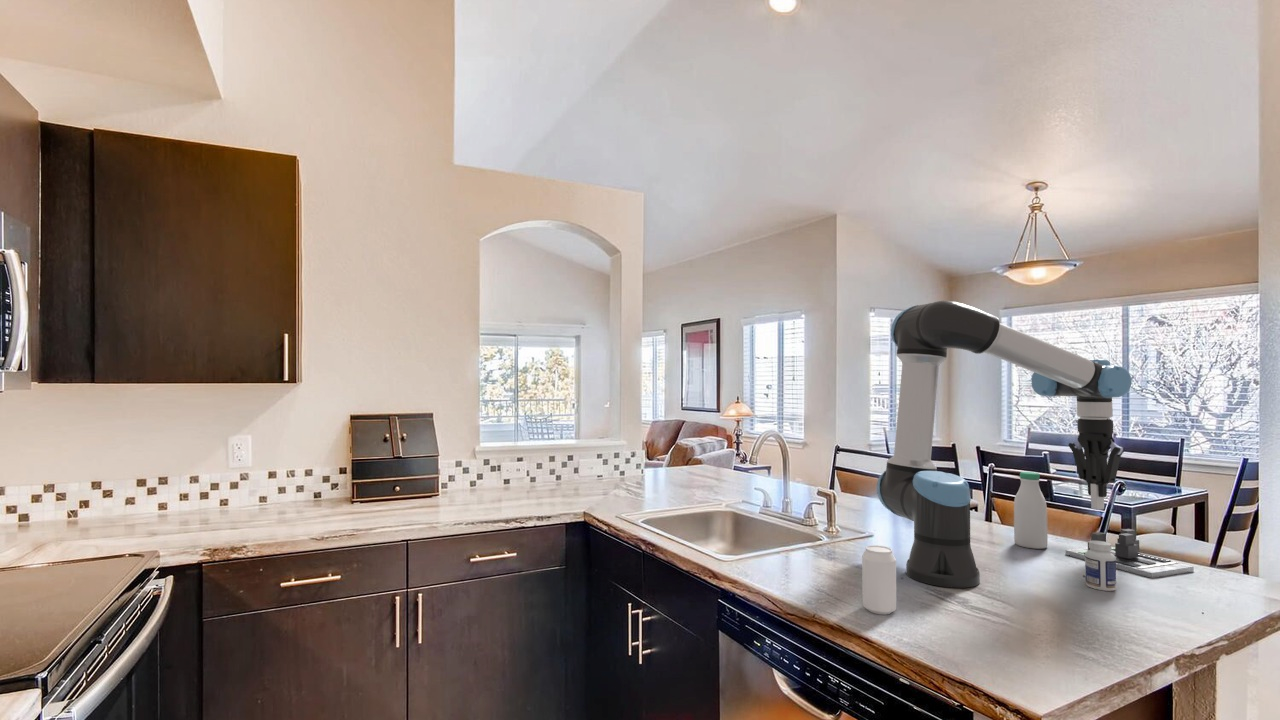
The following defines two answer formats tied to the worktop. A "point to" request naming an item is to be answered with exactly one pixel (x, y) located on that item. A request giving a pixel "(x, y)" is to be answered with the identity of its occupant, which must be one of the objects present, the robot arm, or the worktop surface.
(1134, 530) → the handle right
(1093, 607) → the worktop surface
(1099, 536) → the handle left
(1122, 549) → the handle mid
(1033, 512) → the milk bottle
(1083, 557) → the panel
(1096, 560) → the pill bottle
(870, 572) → the beverage can
